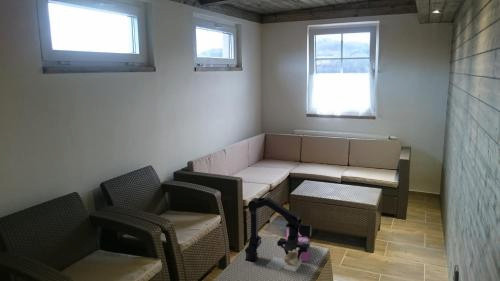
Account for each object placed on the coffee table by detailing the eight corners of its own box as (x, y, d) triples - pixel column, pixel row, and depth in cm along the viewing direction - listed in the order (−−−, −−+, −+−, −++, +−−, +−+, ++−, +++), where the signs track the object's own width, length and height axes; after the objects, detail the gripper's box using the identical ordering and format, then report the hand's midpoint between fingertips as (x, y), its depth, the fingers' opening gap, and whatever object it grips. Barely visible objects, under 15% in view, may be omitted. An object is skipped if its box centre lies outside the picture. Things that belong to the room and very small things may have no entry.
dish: (284, 269, 222) (284, 263, 221) (290, 261, 231) (290, 256, 230) (295, 272, 219) (295, 266, 218) (301, 264, 228) (301, 259, 227)
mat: (265, 266, 225) (265, 266, 225) (274, 257, 236) (274, 256, 236) (279, 270, 221) (279, 269, 221) (287, 260, 232) (287, 259, 232)
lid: (284, 262, 221) (284, 257, 220) (291, 254, 230) (291, 249, 230) (294, 264, 218) (294, 260, 217) (301, 256, 227) (301, 252, 227)
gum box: (285, 244, 253) (285, 226, 250) (296, 243, 254) (296, 224, 252) (298, 262, 230) (298, 242, 227) (310, 261, 232) (310, 240, 229)
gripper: (273, 235, 218) (273, 260, 221) (303, 242, 209) (303, 268, 212) (281, 228, 228) (280, 252, 231) (310, 235, 219) (309, 259, 222)
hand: (292, 258), depth 224 cm, fingers closed on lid, 6 cm apart
